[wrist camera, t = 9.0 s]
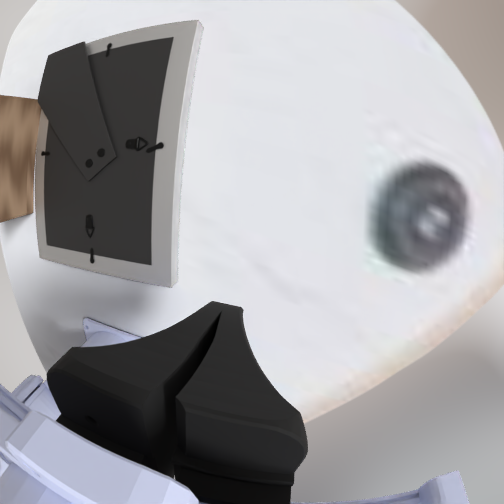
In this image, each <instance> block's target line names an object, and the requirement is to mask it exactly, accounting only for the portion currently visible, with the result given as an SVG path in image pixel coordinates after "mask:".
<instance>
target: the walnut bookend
mask: <svg viewBox="0 0 504 504" xmlns="http://www.w3.org/2000/svg"><path fill="white" fill-rule="evenodd" d="M40 115H41V107H40V105H39V103H38V100H37V99H30V98H22V97H13V96H4V95H0V223H1V222H4V221H7V220H10V219H14V218H17V217H20V216H24V215H27V214H31V213H33V184H34V166H35V154H36V145H37V137H38V129H39V121H40Z"/></svg>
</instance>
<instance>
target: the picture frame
mask: <svg viewBox="0 0 504 504" xmlns="http://www.w3.org/2000/svg"><path fill="white" fill-rule="evenodd" d="M203 29H204V27H203V26H202V24H201V22H200V21H199V20H192V21H183V22H175V23H168V24H162V25H156V26H151V27H146V28H141V29H136V30H132V31H128V32H124V33H120V34H116V35H113V36H109V37H106V38H102V39H99V40H96V41H93V42H90V43H87V44H85V42H81V43H78V44H76V45H73V46H70V47H67V48H65V49H62V50H60V51H57V52H55V53H53V54H50V55H48V59H47V62H46V66H45V69H44V73H43V77H42V82H41V86H40V91H39V96H38V103H39V105H40V107H41V115H40V121H39V129H38V138H37V149H36V165H35V211H36V227H37V239H38V248H39V256H40V258H42V259H46V260H49V261H53V262H57V263H61V264H65V265H69V266H73V267H77V268H81V269H85V270H89V271H93V272H98V273H102V274H106V275H111V276H115V277H120V278H125V279H129V280H134V281H139V282H144V283H149V284H154V285H159V286H164V287H169V288H172V287H173V286H174V285H175V284H176V283H177V282H178V249H179V222H180V203H181V188H182V175H183V164H184V153H185V143H186V134H187V126H188V118H189V110H190V103H191V96H192V89H193V83H194V77H195V71H196V65H197V60H198V54H199V49H200V44H201V39H202V34H203Z"/></svg>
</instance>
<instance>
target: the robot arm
mask: <svg viewBox="0 0 504 504" xmlns="http://www.w3.org/2000/svg"><path fill="white" fill-rule="evenodd" d="M83 325H84V331H85V336H86V342H85V343H84V344H83V345H82V346H81V347H72V348H71V349H70V350H69V351H68V352H67V353H66V354H65V355H64V356H62V357H61V358H60V359H59V360H58V361H57V362H56V363H55V364H54V365H53V366H52V367H51V368H50V369H49V371H48V372H47V380H46V381H45V382H44V383H42V382H43V379H42V378H41V376H39V375H38V376H35V375H30V376H29V377H27V379H25V380H24V381H23V382H22V383H21V384H20V385H19V386H18V387H17V388H16V389H15V390H14V391H13V392H12V393H10V392H9V391H8V390H7V389H5V388H4V387H3V386H2V385H1V384H0V504H470V503H469V500H468V497H467V494H466V491H465V488H464V485H463V482H462V479H461V476H460V473H459V471H457V470H456V471H453V472H450V473H447V474H444V475H440V476H437V477H435V478H433V479H431V480H429V481H427V482H426V483H424V484H423V485H422V486H421V487H420V488H419V489H417V490H413V491H409V492H404V493H400V494H395V495H389V496H383V497H378V498H370V499H362V500H353V501H341V502H309V503H307V502H290V498H291V486H293V484H294V472H295V471H296V469H297V468H298V467H299V466H300V464H301V463H302V462H303V460H304V459H305V457H306V455H307V452H308V444H307V436H306V431H305V427H304V423H303V420H302V416H301V414H300V412H299V411H298V410H296V409H295V408H294V407H293V406H292V405H291V404H290V403H289V402H287V401H286V400H285V399H284V398H283V397H282V396H281V395H280V394H279V393H278V392H277V390H276V389H275V388H274V387H273V385H272V384H271V383H270V381H269V380H268V379H267V377H266V376H265V374H264V373H263V371H262V370H261V368H260V366H259V365H258V363H257V361H256V359H255V357H254V355H253V352H252V350H251V348H250V345H249V342H248V339H247V336H246V332H245V328H244V323H243V309H242V308H241V307H238V306H233V305H228V304H224V303H219V302H215V301H211V302H210V303H208V304H207V305H205V306H204V307H202V308H201V309H199V310H198V311H196V312H195V313H193V314H192V315H190V316H189V317H187V318H185V319H184V320H182V321H180V322H178V323H177V324H175V325H173V326H171V327H169V328H167V329H165V330H162V331H160V332H157V333H155V334H152V335H149V336H146V337H143V338H141V337H138V336H135V335H132V334H129V333H126V332H123V331H120V330H117V329H115V328H112V327H109V326H106V325H104V324H101V323H99V322H96V321H93V320H91V319H88V318H85V319H84V320H83ZM174 475H175V480H174Z"/></svg>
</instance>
